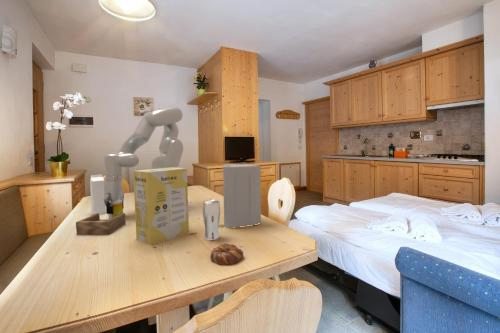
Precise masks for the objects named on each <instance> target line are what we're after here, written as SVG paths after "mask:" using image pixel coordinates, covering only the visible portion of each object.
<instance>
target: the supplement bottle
mask: <svg viewBox="0 0 500 333" xmlns="http://www.w3.org/2000/svg"><path fill="white" fill-rule="evenodd" d="M118 198H120V196H119V197H118ZM110 203H111V202H110ZM112 206H113V214H107V215H108V220H110V219H112V218H114V217H116V216H118V215H120V214H122V213H124V209H123V205H122V200H121V199H118V200H116V201H114V202H113V204H112Z"/></svg>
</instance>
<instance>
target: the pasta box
mask: <svg viewBox="0 0 500 333" xmlns="http://www.w3.org/2000/svg"><path fill="white" fill-rule="evenodd" d="M132 175H133V176H132V177H133V193H134V194H133V196H134V199H133V200H134V216H135V220H134V221H135V231H136V232H135V235H136V240H137V241H139V242H142V243H145V244H147V245H150V246H153V245H156V244H159V243H162V242H165V241H167V240H170V239H173V238H175V237H179V236H181V235H184V234H187V233H189V232H190V226H189V224H190V223H189V197H188V196H189V193H188V191H189V190H188V168H186V167H185V168H184V167H178V168H175V167H170V168H159V169H152V168H151V169H141V170H140V169H139V170H138V169H137V170H132Z"/></svg>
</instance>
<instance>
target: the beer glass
mask: <svg viewBox="0 0 500 333" xmlns="http://www.w3.org/2000/svg"><path fill="white" fill-rule="evenodd" d="M202 218H203V223H204V240H205V241H211V240H213V241H217V240H219V239H220V233H219V225H220V219H221V206H220V201H219V200H216V199H209V200H205V201H204V200H203V202H202Z"/></svg>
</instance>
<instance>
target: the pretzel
mask: <svg viewBox="0 0 500 333" xmlns="http://www.w3.org/2000/svg"><path fill="white" fill-rule="evenodd" d="M209 256H210V260H211V262H213V263H216V264H218V265H233V264H236V263H238V262H239V261H240V260H241V258H242V259H243V257H244V251H243V250H242V249H241V248H239V247H237V245H235V244H229V243H221V244H220V245H218V246H217V247H215V248H213V249H212V251H211V253H210V255H209Z"/></svg>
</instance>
